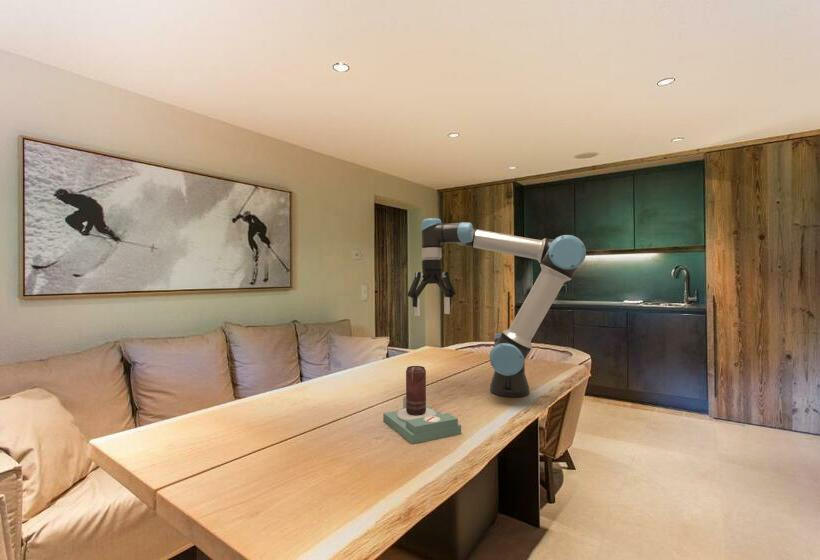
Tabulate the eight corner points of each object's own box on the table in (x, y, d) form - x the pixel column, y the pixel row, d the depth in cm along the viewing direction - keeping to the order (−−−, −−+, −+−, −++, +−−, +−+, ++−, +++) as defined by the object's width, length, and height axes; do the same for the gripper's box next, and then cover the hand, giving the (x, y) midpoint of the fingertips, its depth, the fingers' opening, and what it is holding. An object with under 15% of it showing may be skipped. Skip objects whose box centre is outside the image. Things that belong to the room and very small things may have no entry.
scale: (427, 413, 135) (427, 398, 135) (461, 433, 117) (461, 416, 117) (383, 420, 128) (383, 405, 128) (412, 444, 110) (412, 426, 110)
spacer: (411, 407, 141) (411, 395, 141) (416, 410, 138) (416, 399, 138) (401, 409, 140) (401, 397, 140) (406, 412, 136) (406, 400, 136)
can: (404, 415, 123) (404, 369, 123) (408, 408, 129) (408, 364, 129) (424, 416, 122) (423, 370, 121) (427, 409, 128) (427, 365, 128)
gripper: (452, 260, 164) (453, 312, 164) (398, 259, 152) (399, 315, 152) (463, 259, 158) (464, 313, 158) (407, 258, 146) (408, 317, 146)
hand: (432, 314), depth 155 cm, fingers open, 13 cm apart
